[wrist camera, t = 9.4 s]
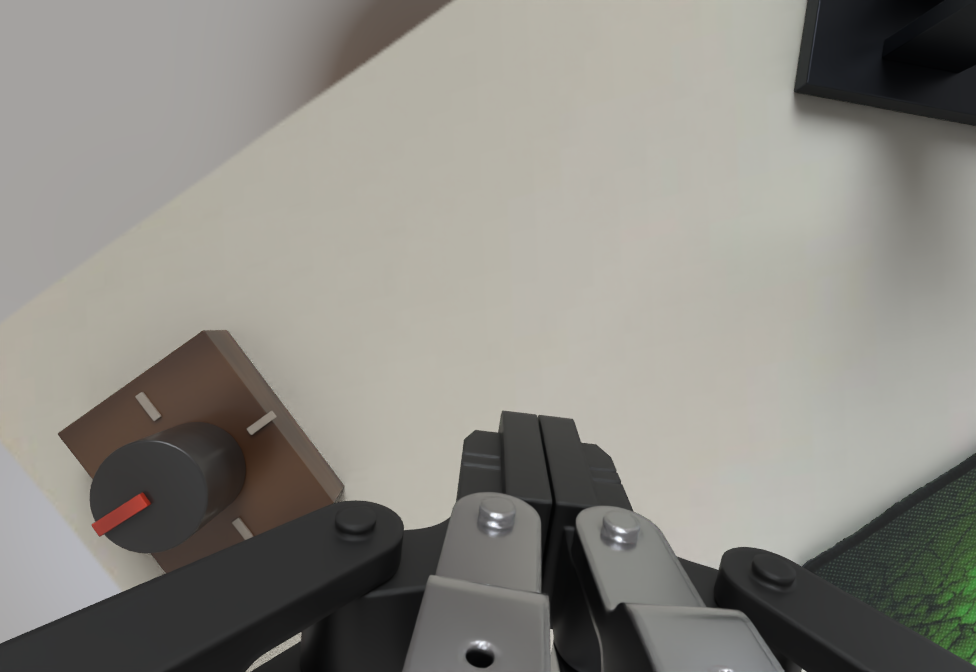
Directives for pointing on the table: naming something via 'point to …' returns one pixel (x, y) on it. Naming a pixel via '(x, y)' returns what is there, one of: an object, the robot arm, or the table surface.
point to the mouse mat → (917, 561)
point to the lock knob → (166, 486)
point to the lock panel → (236, 409)
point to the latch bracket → (892, 55)
